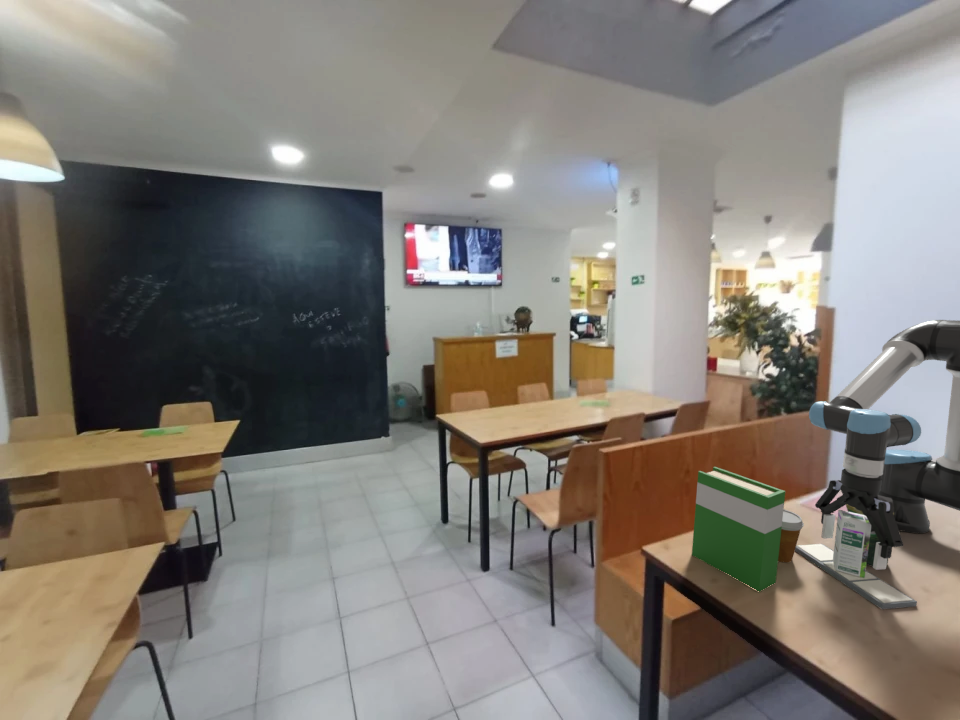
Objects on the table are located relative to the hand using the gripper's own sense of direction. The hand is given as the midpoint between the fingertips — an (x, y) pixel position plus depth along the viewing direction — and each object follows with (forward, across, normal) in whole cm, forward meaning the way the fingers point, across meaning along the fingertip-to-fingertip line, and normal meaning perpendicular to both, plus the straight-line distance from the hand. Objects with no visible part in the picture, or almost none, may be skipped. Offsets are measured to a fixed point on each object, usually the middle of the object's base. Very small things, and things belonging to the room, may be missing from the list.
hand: (851, 552), depth 109 cm
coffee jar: (+7, -6, +11) cm, 14 cm away
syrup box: (+5, 0, 0) cm, 5 cm away
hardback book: (+7, -6, -28) cm, 29 cm away
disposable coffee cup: (+7, -10, -11) cm, 16 cm away
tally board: (+6, 0, 0) cm, 6 cm away
